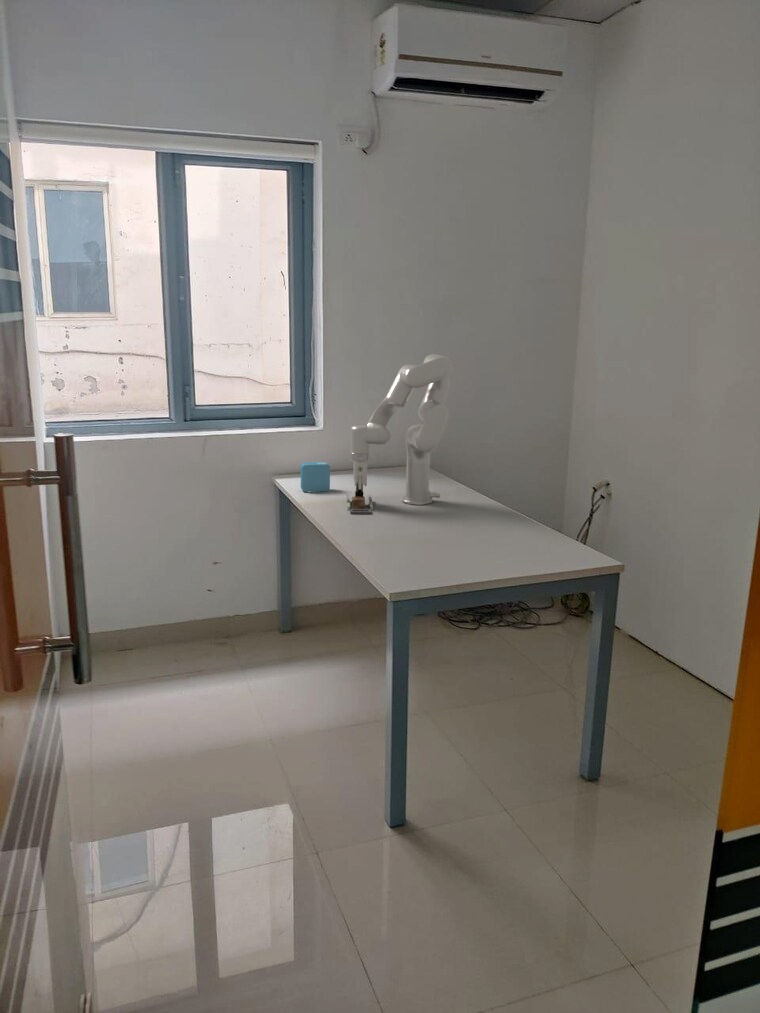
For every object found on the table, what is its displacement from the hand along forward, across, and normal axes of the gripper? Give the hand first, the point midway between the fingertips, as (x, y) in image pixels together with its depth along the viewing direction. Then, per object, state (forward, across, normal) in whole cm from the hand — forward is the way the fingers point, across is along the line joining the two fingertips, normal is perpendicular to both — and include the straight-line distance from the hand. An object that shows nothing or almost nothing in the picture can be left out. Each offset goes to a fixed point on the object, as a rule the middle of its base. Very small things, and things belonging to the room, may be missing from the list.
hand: (359, 501), depth 314 cm
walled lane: (+1, +2, 0) cm, 2 cm away
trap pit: (+1, -12, 0) cm, 13 cm away
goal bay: (+1, -6, 0) cm, 6 cm away
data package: (+2, +23, +18) cm, 30 cm away
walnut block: (+2, -5, 0) cm, 5 cm away
